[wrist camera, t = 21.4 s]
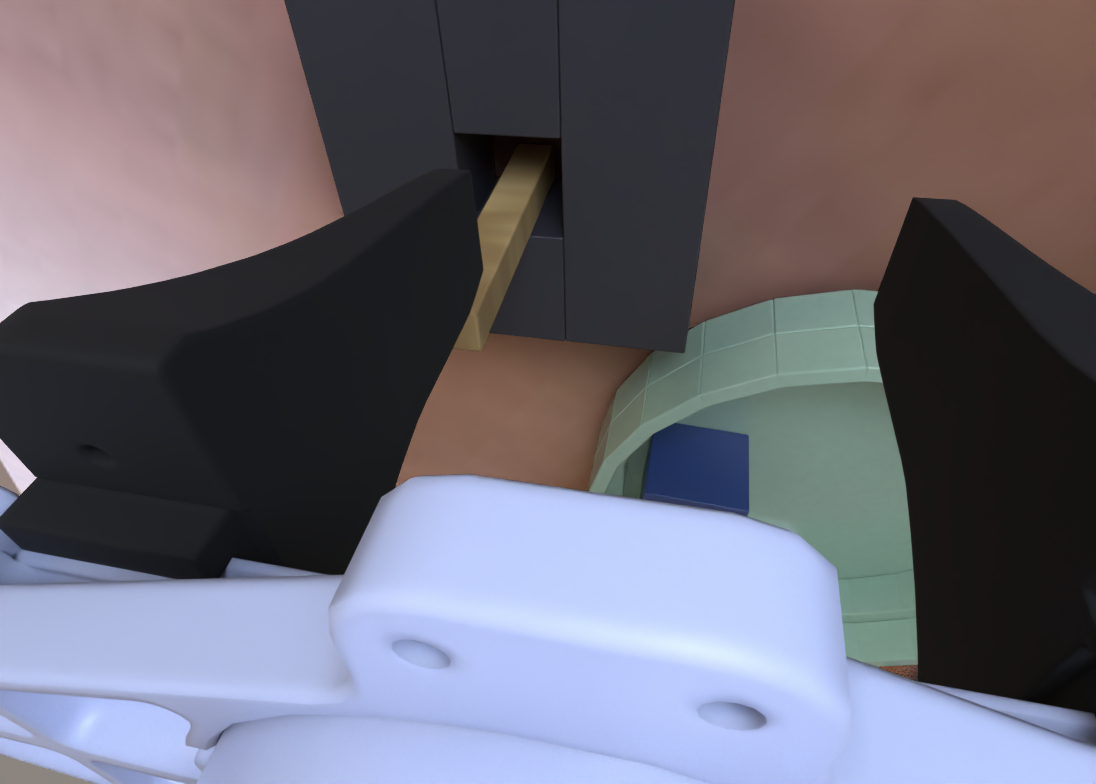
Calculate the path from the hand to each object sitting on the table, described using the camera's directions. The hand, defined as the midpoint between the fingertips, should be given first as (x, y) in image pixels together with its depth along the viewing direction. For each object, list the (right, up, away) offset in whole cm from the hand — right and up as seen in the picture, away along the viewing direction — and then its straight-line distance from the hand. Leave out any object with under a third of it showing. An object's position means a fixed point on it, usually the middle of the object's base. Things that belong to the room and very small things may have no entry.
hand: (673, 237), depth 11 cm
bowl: (+10, -6, +18) cm, 21 cm away
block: (+4, -6, +18) cm, 20 cm away
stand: (-3, +6, +10) cm, 12 cm away
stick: (-3, +5, +11) cm, 12 cm away
